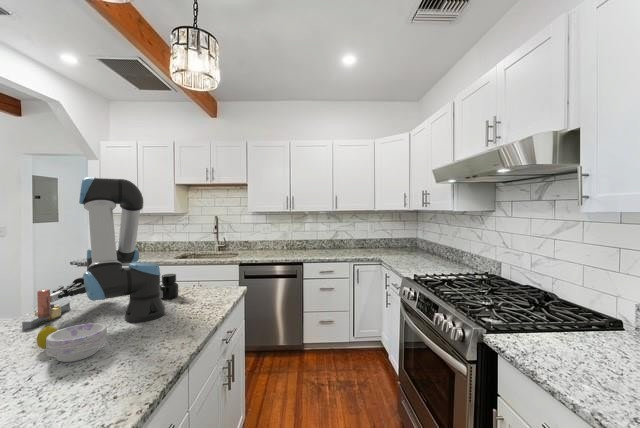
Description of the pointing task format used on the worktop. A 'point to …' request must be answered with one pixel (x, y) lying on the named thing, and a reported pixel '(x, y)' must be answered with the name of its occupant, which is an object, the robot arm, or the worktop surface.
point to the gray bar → (54, 314)
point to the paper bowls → (76, 342)
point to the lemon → (44, 336)
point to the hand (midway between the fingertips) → (50, 299)
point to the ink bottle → (168, 287)
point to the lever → (44, 304)
